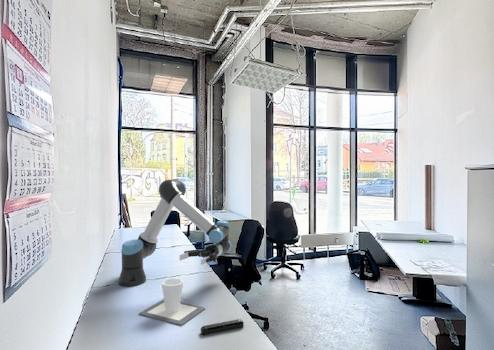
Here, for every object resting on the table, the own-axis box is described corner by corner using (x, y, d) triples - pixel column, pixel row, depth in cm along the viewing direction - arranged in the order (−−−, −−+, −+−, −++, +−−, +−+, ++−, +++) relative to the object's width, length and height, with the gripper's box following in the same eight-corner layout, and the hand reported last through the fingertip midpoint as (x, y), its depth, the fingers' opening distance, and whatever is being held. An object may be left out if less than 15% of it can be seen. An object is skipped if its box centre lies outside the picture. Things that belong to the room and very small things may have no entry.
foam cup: (187, 308, 149) (187, 280, 148) (173, 316, 141) (173, 287, 141) (172, 304, 154) (172, 277, 153) (157, 311, 146) (157, 283, 145)
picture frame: (138, 314, 144) (138, 312, 144) (165, 299, 160) (165, 298, 160) (181, 325, 134) (181, 324, 134) (205, 309, 150) (205, 307, 150)
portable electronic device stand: (202, 336, 126) (202, 329, 126) (200, 333, 128) (200, 326, 128) (243, 328, 133) (243, 321, 133) (241, 325, 135) (241, 318, 135)
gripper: (231, 260, 177) (210, 271, 158) (195, 254, 188) (171, 263, 169) (232, 247, 177) (211, 256, 158) (195, 241, 188) (171, 249, 169)
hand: (190, 259), depth 164 cm, fingers open, 13 cm apart
